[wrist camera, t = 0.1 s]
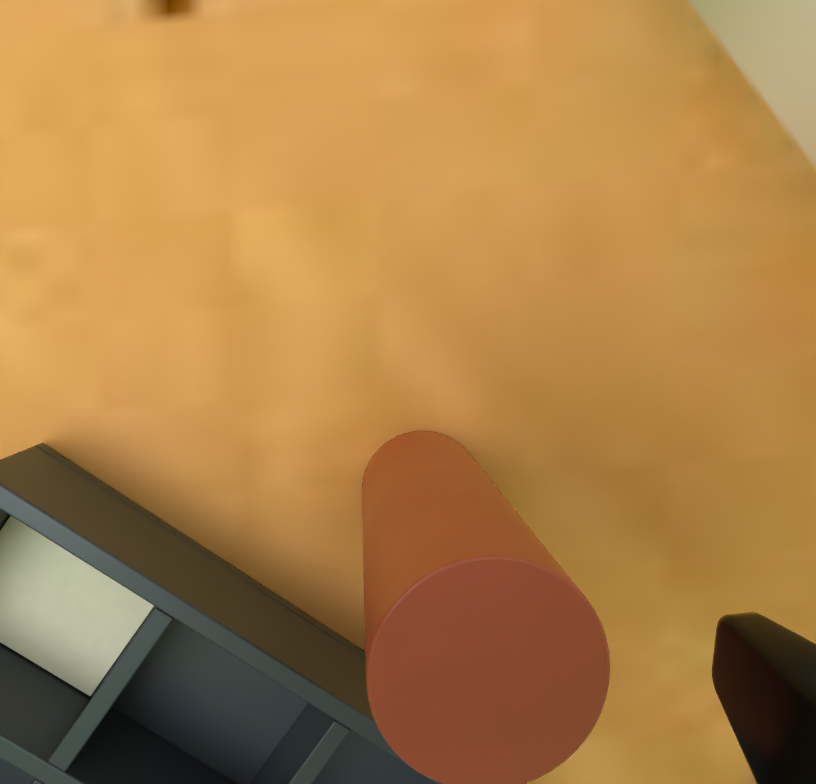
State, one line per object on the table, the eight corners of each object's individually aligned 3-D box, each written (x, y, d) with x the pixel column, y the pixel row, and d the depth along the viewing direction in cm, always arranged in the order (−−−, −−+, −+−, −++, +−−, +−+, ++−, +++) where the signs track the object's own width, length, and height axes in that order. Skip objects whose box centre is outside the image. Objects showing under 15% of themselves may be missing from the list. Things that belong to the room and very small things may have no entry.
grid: (297, 1016, 26) (286, 1144, 22) (-171, 751, 23) (-279, 840, 19) (502, 739, 25) (529, 819, 21) (42, 442, 23) (-25, 468, 19)
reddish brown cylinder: (434, 569, 24) (515, 835, 12) (338, 504, 24) (316, 709, 11) (503, 474, 24) (659, 642, 12) (407, 407, 23) (463, 508, 11)
